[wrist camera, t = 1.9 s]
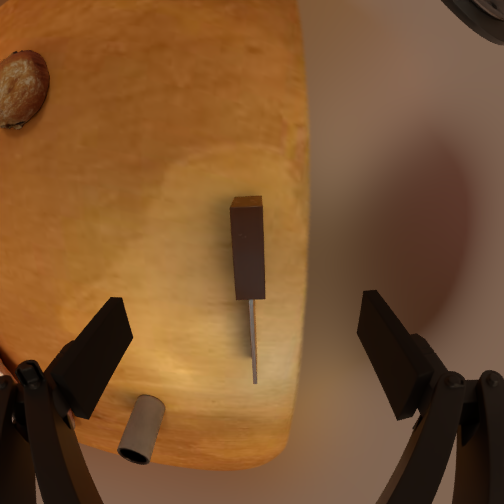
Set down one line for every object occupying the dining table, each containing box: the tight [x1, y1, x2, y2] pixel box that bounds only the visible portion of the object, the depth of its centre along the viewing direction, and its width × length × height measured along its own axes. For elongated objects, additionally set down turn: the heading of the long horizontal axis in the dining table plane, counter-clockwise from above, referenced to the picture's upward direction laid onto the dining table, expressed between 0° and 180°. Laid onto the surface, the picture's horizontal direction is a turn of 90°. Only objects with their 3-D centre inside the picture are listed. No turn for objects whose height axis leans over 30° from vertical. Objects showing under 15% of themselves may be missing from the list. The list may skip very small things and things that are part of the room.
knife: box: [230, 196, 265, 384], centre depth 27 cm, size 19×2×5 cm, turn 2°
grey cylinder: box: [117, 395, 165, 465], centre depth 32 cm, size 4×4×10 cm
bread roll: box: [0, 50, 49, 129], centre depth 19 cm, size 10×10×8 cm
